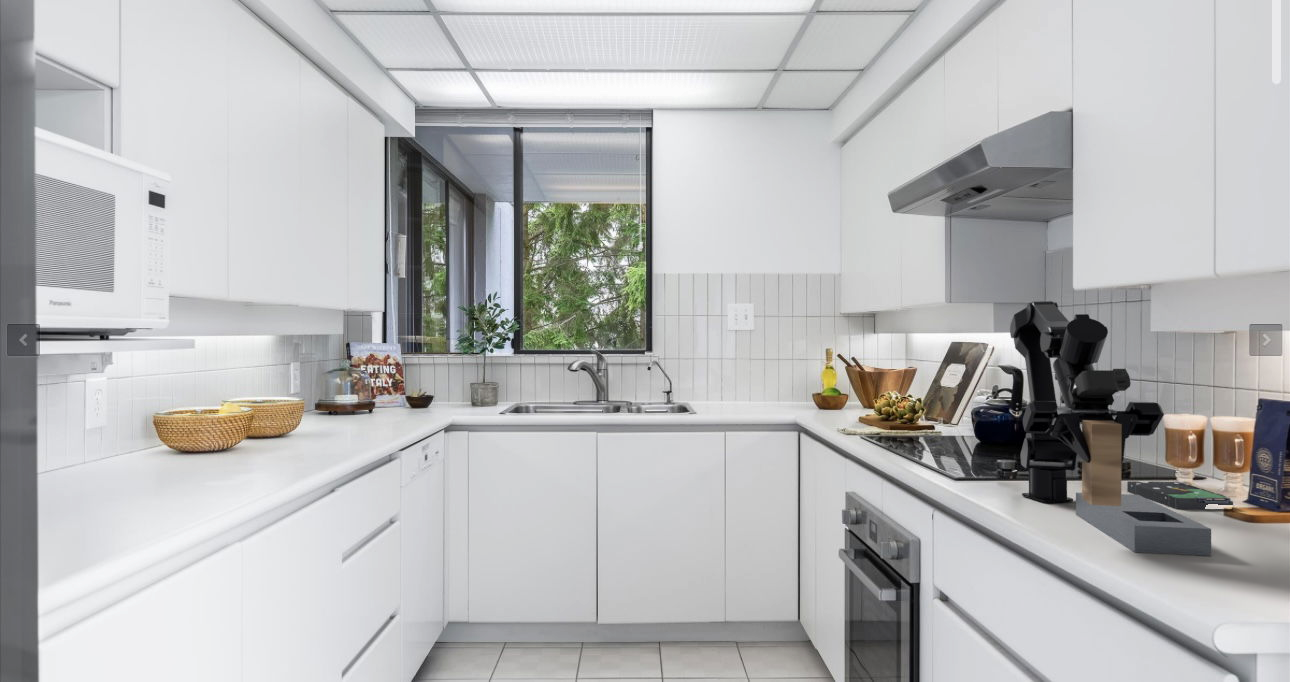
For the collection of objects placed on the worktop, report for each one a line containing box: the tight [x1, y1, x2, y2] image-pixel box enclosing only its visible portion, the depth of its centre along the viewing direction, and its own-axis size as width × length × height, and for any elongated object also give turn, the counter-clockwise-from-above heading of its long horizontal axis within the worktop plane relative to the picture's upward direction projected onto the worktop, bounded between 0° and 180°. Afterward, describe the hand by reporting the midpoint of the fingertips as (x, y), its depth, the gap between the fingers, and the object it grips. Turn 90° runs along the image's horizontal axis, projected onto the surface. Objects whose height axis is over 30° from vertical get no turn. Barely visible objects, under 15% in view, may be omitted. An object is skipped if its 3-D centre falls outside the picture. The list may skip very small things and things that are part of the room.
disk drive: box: [1126, 480, 1234, 511], centre depth 135 cm, size 10×3×15 cm
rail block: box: [1075, 492, 1212, 557], centre depth 113 cm, size 22×10×4 cm, turn 168°
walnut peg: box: [1081, 420, 1122, 506], centre depth 108 cm, size 4×4×12 cm
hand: (1105, 461), depth 106 cm, fingers closed on walnut peg, 4 cm apart
